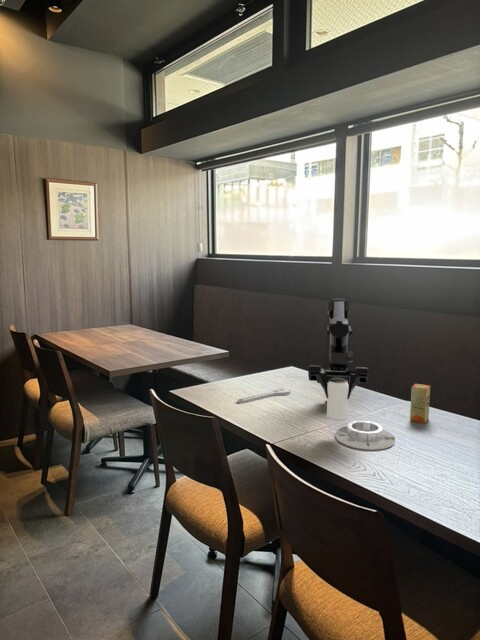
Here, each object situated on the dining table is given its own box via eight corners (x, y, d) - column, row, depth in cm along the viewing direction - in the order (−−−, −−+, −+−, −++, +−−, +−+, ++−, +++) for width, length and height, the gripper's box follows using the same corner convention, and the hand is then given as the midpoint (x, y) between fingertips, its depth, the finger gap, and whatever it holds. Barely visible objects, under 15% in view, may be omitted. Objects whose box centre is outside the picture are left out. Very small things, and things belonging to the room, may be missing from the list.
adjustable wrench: (239, 405, 182) (239, 401, 181) (231, 400, 187) (231, 396, 187) (292, 394, 194) (292, 390, 194) (283, 390, 199) (283, 386, 199)
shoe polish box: (409, 420, 163) (411, 386, 161) (413, 416, 167) (415, 383, 165) (424, 423, 160) (426, 389, 158) (428, 419, 164) (430, 385, 162)
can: (323, 414, 150) (323, 378, 148) (341, 412, 152) (342, 376, 150) (332, 421, 144) (333, 383, 142) (351, 419, 146) (352, 381, 144)
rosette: (359, 423, 160) (359, 412, 160) (406, 439, 147) (407, 428, 146) (323, 436, 149) (323, 425, 149) (371, 455, 135) (371, 443, 135)
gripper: (308, 340, 150) (306, 384, 141) (369, 342, 146) (371, 387, 137) (309, 358, 159) (307, 401, 150) (367, 361, 155) (368, 404, 146)
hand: (337, 398), depth 146 cm, fingers closed on can, 6 cm apart
